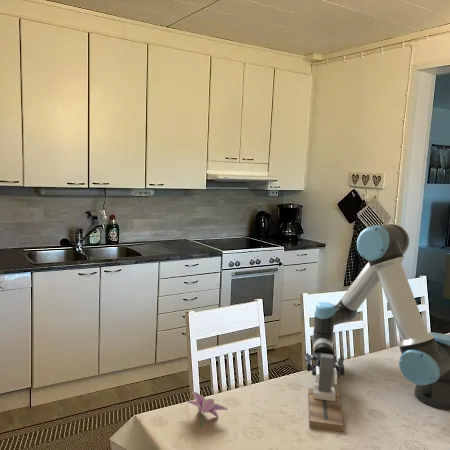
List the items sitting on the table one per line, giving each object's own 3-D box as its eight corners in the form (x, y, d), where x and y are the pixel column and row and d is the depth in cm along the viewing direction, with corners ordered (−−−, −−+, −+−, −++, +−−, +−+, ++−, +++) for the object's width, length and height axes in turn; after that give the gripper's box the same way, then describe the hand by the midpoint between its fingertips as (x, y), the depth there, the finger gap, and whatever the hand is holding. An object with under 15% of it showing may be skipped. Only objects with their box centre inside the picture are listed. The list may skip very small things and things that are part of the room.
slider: (313, 390, 160) (316, 351, 159) (333, 392, 159) (337, 353, 157) (313, 398, 154) (316, 358, 153) (335, 401, 153) (338, 360, 152)
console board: (308, 393, 163) (308, 387, 162) (337, 396, 161) (337, 391, 161) (309, 426, 141) (309, 420, 141) (342, 431, 140) (343, 425, 139)
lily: (230, 431, 139) (234, 397, 142) (202, 428, 131) (206, 392, 135) (203, 427, 147) (207, 395, 150) (174, 424, 139) (179, 390, 143)
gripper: (347, 364, 172) (354, 393, 150) (298, 358, 175) (297, 386, 152) (349, 345, 172) (356, 371, 149) (299, 339, 174) (299, 364, 152)
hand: (326, 379), depth 151 cm, fingers open, 5 cm apart
